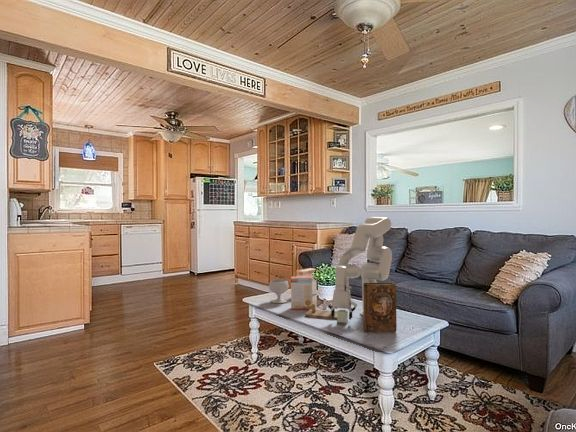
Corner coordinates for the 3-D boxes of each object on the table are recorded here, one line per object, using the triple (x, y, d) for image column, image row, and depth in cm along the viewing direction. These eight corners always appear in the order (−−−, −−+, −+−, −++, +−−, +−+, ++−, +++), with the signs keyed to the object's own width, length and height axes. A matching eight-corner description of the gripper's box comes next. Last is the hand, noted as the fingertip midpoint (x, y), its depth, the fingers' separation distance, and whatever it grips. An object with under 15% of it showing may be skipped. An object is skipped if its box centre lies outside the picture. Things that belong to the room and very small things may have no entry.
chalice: (282, 305, 239) (282, 283, 239) (265, 302, 246) (265, 281, 246) (292, 300, 251) (292, 279, 251) (275, 298, 258) (275, 278, 258)
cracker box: (313, 307, 233) (312, 276, 233) (312, 310, 227) (312, 277, 227) (291, 307, 234) (291, 275, 234) (291, 309, 228) (290, 277, 228)
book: (365, 333, 183) (364, 285, 182) (362, 329, 188) (362, 283, 188) (396, 332, 183) (396, 284, 183) (393, 328, 189) (392, 282, 188)
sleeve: (347, 322, 201) (347, 309, 201) (346, 324, 196) (346, 312, 196) (339, 321, 203) (338, 309, 203) (337, 324, 198) (337, 311, 198)
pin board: (341, 314, 217) (341, 303, 217) (337, 319, 205) (337, 308, 205) (310, 311, 223) (310, 301, 223) (304, 316, 212) (304, 306, 212)
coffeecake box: (310, 292, 276) (310, 267, 275) (317, 294, 270) (316, 268, 270) (296, 295, 266) (295, 270, 266) (302, 297, 260) (302, 271, 260)
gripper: (358, 287, 200) (358, 317, 199) (328, 285, 205) (328, 314, 205) (356, 290, 192) (356, 321, 192) (325, 287, 198) (325, 318, 198)
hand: (341, 318), depth 199 cm, fingers open, 9 cm apart
